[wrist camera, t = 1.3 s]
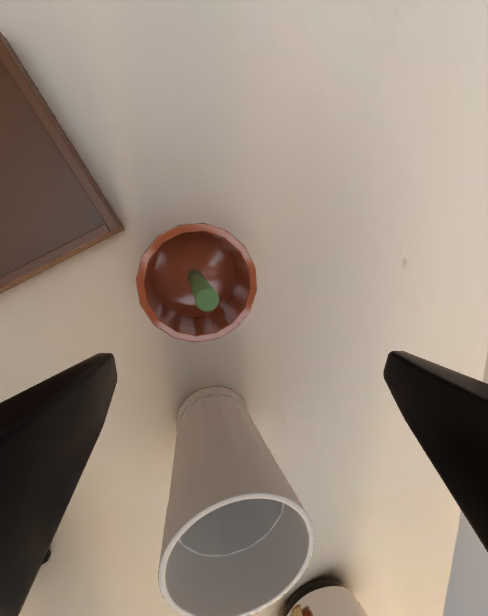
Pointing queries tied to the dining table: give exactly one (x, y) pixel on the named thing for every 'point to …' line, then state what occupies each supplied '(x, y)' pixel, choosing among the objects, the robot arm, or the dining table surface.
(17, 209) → the tray
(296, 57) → the dining table surface
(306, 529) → the cup
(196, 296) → the straw
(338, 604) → the spread jar
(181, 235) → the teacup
